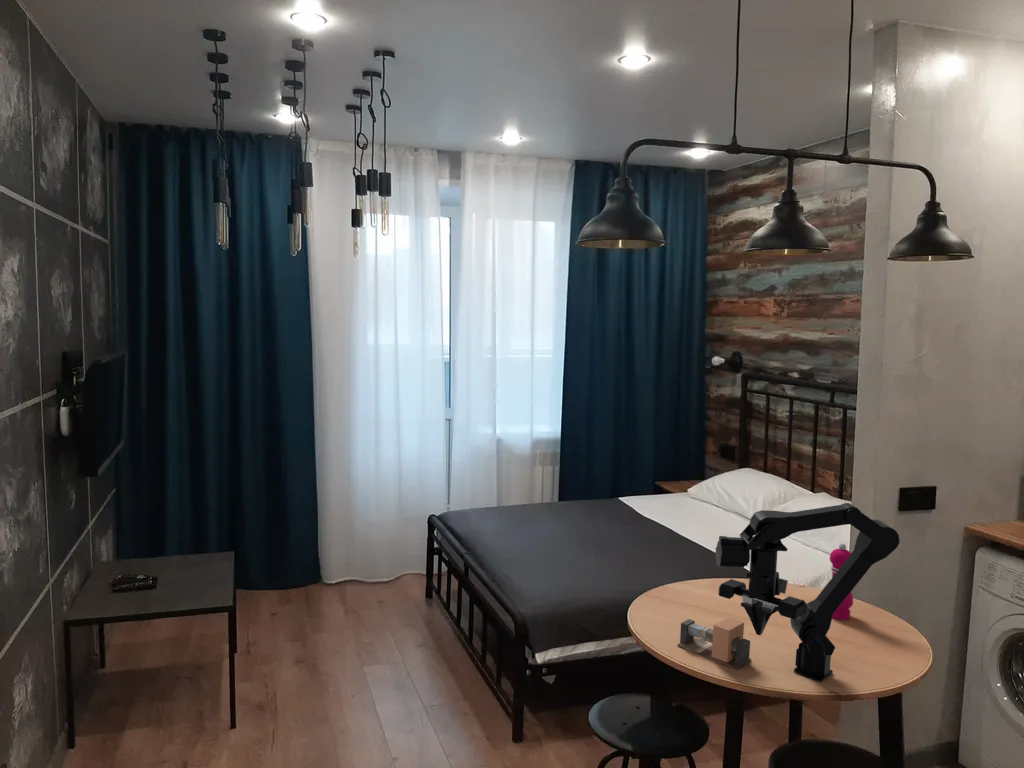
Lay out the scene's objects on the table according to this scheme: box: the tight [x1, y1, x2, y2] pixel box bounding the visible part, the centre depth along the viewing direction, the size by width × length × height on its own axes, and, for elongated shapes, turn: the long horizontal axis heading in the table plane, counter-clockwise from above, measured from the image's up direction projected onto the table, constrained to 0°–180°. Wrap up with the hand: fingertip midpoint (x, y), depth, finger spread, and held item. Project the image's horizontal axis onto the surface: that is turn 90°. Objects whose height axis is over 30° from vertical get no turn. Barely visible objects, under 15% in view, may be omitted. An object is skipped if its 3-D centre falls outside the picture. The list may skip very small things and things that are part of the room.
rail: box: [677, 618, 752, 670], centre depth 184 cm, size 16×6×5 cm, turn 45°
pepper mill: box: [829, 543, 854, 621], centre depth 208 cm, size 7×7×20 cm
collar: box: [711, 616, 745, 662], centre depth 181 cm, size 4×7×8 cm, turn 135°
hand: (759, 634), depth 176 cm, fingers closed
